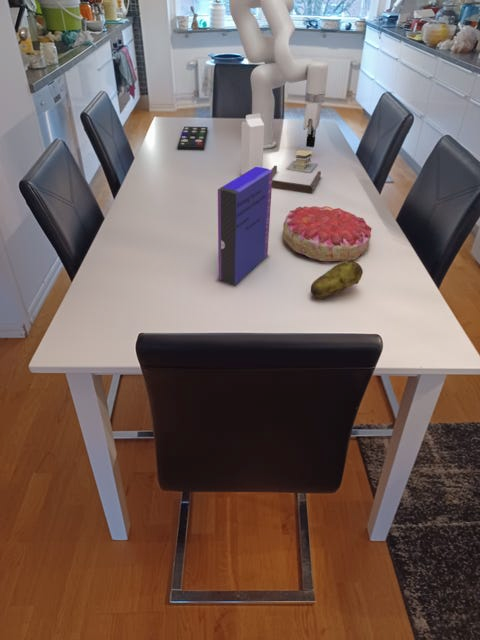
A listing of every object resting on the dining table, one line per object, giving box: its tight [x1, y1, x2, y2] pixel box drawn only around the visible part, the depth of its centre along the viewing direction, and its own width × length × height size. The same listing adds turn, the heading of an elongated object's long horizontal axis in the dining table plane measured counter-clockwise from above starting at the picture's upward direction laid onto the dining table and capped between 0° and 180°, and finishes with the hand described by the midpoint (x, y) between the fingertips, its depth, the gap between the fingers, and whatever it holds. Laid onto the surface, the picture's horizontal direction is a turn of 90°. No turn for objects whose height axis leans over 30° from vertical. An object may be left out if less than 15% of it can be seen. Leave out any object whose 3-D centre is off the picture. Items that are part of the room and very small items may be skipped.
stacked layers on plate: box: [287, 149, 317, 173], centre depth 183 cm, size 10×9×6 cm
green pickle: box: [310, 260, 364, 299], centre depth 111 cm, size 8×13×8 cm, turn 96°
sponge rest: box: [270, 165, 322, 194], centre depth 170 cm, size 16×18×2 cm
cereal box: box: [217, 167, 274, 286], centre depth 115 cm, size 17×5×24 cm, turn 150°
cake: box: [281, 205, 373, 262], centre depth 132 cm, size 25×25×8 cm
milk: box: [240, 113, 264, 176], centre depth 168 cm, size 6×6×22 cm
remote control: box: [177, 126, 209, 151], centre depth 210 cm, size 11×30×2 cm, turn 0°
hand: (310, 146), depth 190 cm, fingers closed
